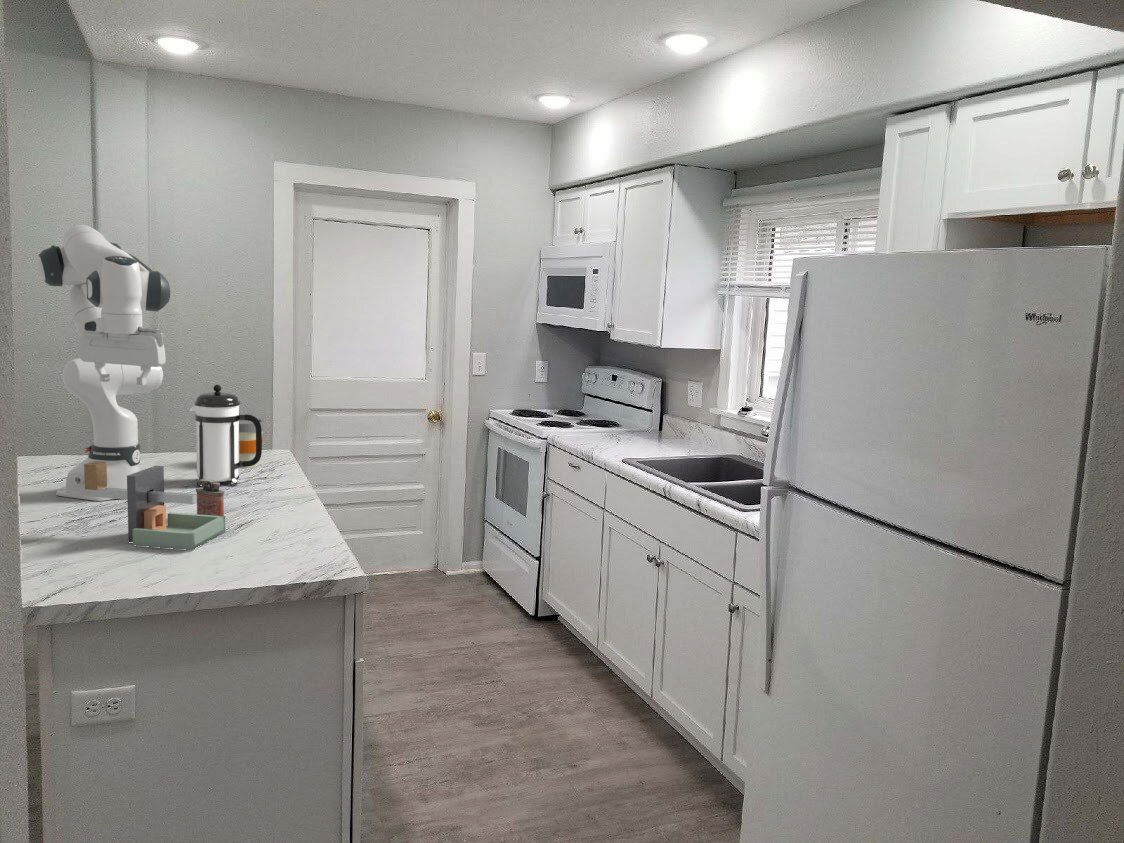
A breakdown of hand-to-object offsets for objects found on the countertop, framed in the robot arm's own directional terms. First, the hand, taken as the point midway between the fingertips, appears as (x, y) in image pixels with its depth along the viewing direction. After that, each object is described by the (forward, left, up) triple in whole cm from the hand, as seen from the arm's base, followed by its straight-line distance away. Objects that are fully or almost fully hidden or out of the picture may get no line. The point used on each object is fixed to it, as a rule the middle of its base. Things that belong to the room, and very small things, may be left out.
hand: (123, 383), depth 211 cm
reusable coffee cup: (-6, +76, -36) cm, 84 cm away
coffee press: (-1, +51, -36) cm, 62 cm away
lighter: (+15, +12, -36) cm, 41 cm away
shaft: (+8, -7, -27) cm, 29 cm away
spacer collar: (+12, -7, -35) cm, 37 cm away
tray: (+18, -7, -36) cm, 40 cm away
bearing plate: (+9, -7, -36) cm, 37 cm away
